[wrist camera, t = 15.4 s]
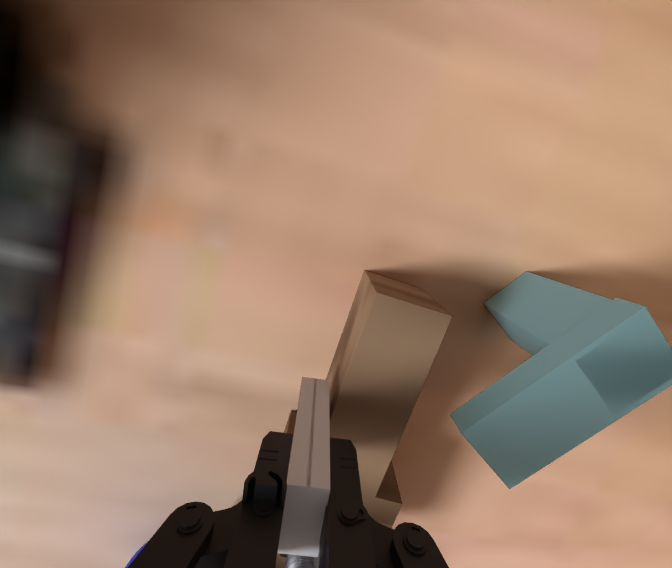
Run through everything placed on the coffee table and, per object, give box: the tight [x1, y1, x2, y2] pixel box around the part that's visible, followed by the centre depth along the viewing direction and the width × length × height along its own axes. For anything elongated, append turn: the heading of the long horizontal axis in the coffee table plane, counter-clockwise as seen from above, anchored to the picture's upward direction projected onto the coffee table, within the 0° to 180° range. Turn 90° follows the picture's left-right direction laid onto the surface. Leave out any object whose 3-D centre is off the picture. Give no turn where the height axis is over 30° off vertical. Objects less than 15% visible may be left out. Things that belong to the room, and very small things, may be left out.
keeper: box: [450, 271, 672, 489], centre depth 16 cm, size 4×8×7 cm, turn 130°
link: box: [275, 270, 452, 568], centre depth 18 cm, size 16×6×5 cm, turn 162°
